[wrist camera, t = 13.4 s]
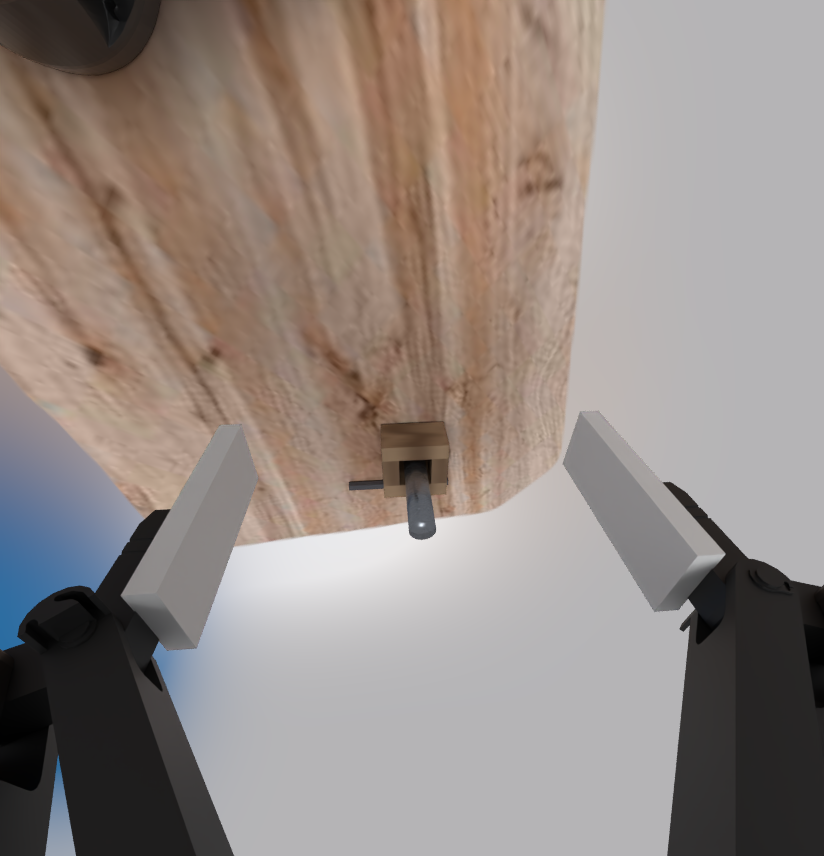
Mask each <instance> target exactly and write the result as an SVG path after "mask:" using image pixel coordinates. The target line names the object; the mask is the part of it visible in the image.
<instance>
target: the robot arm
mask: <svg viewBox="0 0 824 856" xmlns="http://www.w3.org/2000/svg"><path fill="white" fill-rule="evenodd" d="M159 5H160V0H0V45H1V46H3V47H5V48H7V49H9V50H10V51H12V52H14V53H16V54H18V55H20V56H22V57H24V58H26V59H29V60H32V61H34V62H37V63H40V64H43V65H46V66H49V67H52V68H55V69H58V70H61V71H65V72H69V73H73V74H80V75H98V74H105V73H109V72H112V71H115V70H117V69H119V68H121V67H123V66H125V65H126V64H128V63H129V62H130V61H132V60H133V59H134V58H135V57H136V56H137V55H138V54H139V53H140V52H141V50H142V49H143V47H144V46H145V45H146V43H147V41H148V39H149V38H150V35H151V33H152V31H153V28H154V25H155V22H156V19H157V15H158V11H159ZM563 465H564V466H565V468H566V470H567V471H568V473H569V475H570V476H571V478H572V479H573V481H574V483H575V484H576V486H577V488H578V489H579V491H580V492H581V494H582V495H583V497H584V498H585V500H586V502H587V504H588V505H589V507H590V509H591V510H592V512H593V513H594V515H595V517H596V518H597V520H598V521H599V523H600V525H601V526H602V528H603V530H604V531H605V533H606V534H607V536H608V538H609V539H610V541H611V543H612V544H613V546H614V547H615V549H616V550H617V552H618V554H619V555H620V557H621V559H622V560H623V562H624V564H625V565H626V567H627V568H628V570H629V572H630V573H631V575H632V576H633V578H634V580H635V581H636V583H637V585H638V586H639V588H640V589H641V591H642V593H643V594H644V596H645V597H646V599H647V601H648V602H649V604H650V606H651V607H652V609H653V610H654V611H655V612H656V611H669V610H679V609H680V607H681V606H682V605H683V604H684V603H685V602H686V600H687V599H689V600H690V602H691V603H692V605H693V606H694V607H695V610H694V611H693V612H692V613H691V614H690V615H689V616H688V618H687V619H686V620H685V621H684V622H683V623H682V625H681V627H680V630H682V631H685V629H686V628H687V627H688V626H690V631H689V642H688V651H687V662H686V671H685V681H684V692H683V702H682V712H681V723H680V732H679V742H678V752H677V763H676V773H675V783H674V793H673V804H672V813H671V823H670V834H669V844H668V854H667V856H824V585H823V586H822V587H819V586H815V585H810V584H805V583H800V582H796V581H791V580H790V579H789V578H788V577H786V575H784V574H783V573H782V572H780V571H779V570H778V569H776V568H774V567H772V566H770V565H768V564H767V563H765V562H761V561H758V560H755V559H748V558H747V557H746V556H745V555H744V554H743V553H742V552H741V551H740V550H739V548H738V547H737V546H736V545H735V544H734V543H733V542H732V541H731V540H730V539H729V538H728V537H727V536H726V535H725V533H724V532H723V531H722V530H721V529H720V528H719V527H718V526H717V525H716V524H715V523H714V522H713V521H712V520H711V518H708V515H707V514H706V513H705V512H704V511H703V510H702V509H701V508H699V507H698V505H697V503H695V501H694V500H693V499H692V498H691V497H690V496H689V495H688V494H687V493H686V492H685V491H683V490H682V489H680V488H678V487H677V486H676V485H674V484H673V483H671V482H661V481H660V480H659V478H658V477H657V476H656V475H655V474H654V473H653V472H652V470H651V469H650V468H649V467H648V466H647V465H646V464H645V463H644V461H643V460H642V459H641V458H640V457H639V456H638V455H637V454H636V452H635V451H634V450H633V449H632V448H631V447H630V446H629V445H628V443H627V442H626V441H625V440H624V439H623V438H622V437H621V436H620V435H619V433H618V432H617V431H616V430H615V429H614V428H613V427H612V425H610V423H609V422H608V421H607V420H606V419H605V418H604V416H603V415H602V414H601V413H600V412H599V411H583V412H580V413H579V416H578V419H577V422H576V425H575V429H574V431H573V434H572V437H571V440H570V443H569V446H568V449H567V452H566V455H565V458H564V461H563ZM257 480H258V475H257V472H256V469H255V466H254V463H253V460H252V457H251V453H250V450H249V447H248V444H247V441H246V438H245V435H244V432H243V429H242V426H241V424H233V425H220V426H219V427H218V429H217V431H216V432H215V434H214V436H213V438H212V439H211V441H210V443H209V444H208V446H207V448H206V450H205V451H204V453H203V455H202V457H201V458H200V460H199V462H198V463H197V465H196V467H195V469H194V470H193V472H192V474H191V475H190V477H189V479H188V481H187V482H186V484H185V486H184V488H183V489H182V491H181V493H180V494H179V496H178V498H177V500H176V501H175V503H174V505H173V506H172V508H171V509H167V510H155V511H154V512H152V513H151V514H150V515H149V516H148V517H147V518H146V519H145V520H143V521H142V522H141V523H140V524H139V526H138V527H137V529H136V530H135V532H134V533H133V535H132V536H131V538H130V542H128V543H127V544H126V546H125V547H124V549H123V550H122V554H121V555H119V557H118V558H117V560H116V561H115V563H114V564H113V566H112V567H111V569H110V571H109V572H108V574H107V575H106V577H105V579H104V580H103V581H102V583H101V585H100V586H99V588H98V589H97V591H96V593H94V592H93V591H92V590H91V589H90V588H89V587H84V586H74V587H68V588H65V589H63V590H61V591H58V592H56V593H53V594H52V595H50V596H48V597H47V598H46V599H44V600H42V601H41V602H39V603H38V604H37V605H36V606H35V607H34V608H33V609H32V610H31V611H30V612H29V613H28V614H27V615H26V617H25V618H24V620H23V621H22V623H21V624H20V626H19V631H18V636H17V637H19V638H20V639H21V640H22V641H24V642H25V643H24V644H21V645H18V646H15V647H13V648H9V649H7V650H4V651H2V650H1V649H0V856H45V852H46V844H47V836H48V828H49V820H50V812H51V805H52V797H53V789H54V781H55V773H56V765H57V757H58V755H59V761H60V767H61V772H62V778H63V784H64V789H65V795H66V800H67V807H68V812H69V818H70V824H71V829H72V835H73V841H74V846H75V852H76V856H234V855H233V852H232V850H231V847H230V845H229V842H228V840H227V837H226V835H225V832H224V830H223V827H222V825H221V822H220V820H219V817H218V815H217V812H216V810H215V807H214V805H213V802H212V800H211V797H210V795H209V792H208V790H207V787H206V785H205V782H204V780H203V777H202V775H201V772H200V770H199V767H198V765H197V762H196V760H195V757H194V755H193V752H192V750H191V747H190V745H189V742H188V740H187V737H186V735H185V732H184V730H183V727H182V725H181V722H180V720H179V717H178V715H177V712H176V710H175V707H174V705H173V702H172V700H171V697H170V695H169V692H168V690H167V687H166V685H165V682H164V680H163V677H162V675H161V672H160V670H159V667H158V665H157V662H156V660H155V659H154V658H153V657H152V654H153V653H154V650H155V648H156V646H157V644H158V641H159V642H160V643H161V644H162V645H163V646H164V648H165V649H166V650H167V651H169V650H182V649H194V648H197V645H198V643H199V640H200V637H201V634H202V632H203V629H204V626H205V624H206V621H207V618H208V615H209V613H210V610H211V607H212V604H213V602H214V599H215V596H216V593H217V590H218V588H219V585H220V582H221V580H222V577H223V574H224V571H225V568H226V566H227V563H228V560H229V557H230V554H231V552H232V549H233V547H234V544H235V541H236V538H237V536H238V533H239V530H240V527H241V525H242V522H243V519H244V516H245V514H246V511H247V508H248V505H249V502H250V500H251V497H252V494H253V491H254V489H255V486H256V483H257Z"/></svg>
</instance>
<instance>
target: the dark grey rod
mask: <svg viewBox="0 0 824 856" xmlns="http://www.w3.org/2000/svg"><path fill="white" fill-rule="evenodd" d="M447 485H448V478H447ZM365 489H384V482H383V481H364V482H349V490H365Z"/></svg>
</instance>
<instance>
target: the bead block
mask: <svg viewBox="0 0 824 856" xmlns="http://www.w3.org/2000/svg"><path fill="white" fill-rule="evenodd" d="M381 452H382V467H383V482H384V498H388V497H406V487H405V475H404V462H403V461H408V460H425V462H426V468H427V474H428V481H429V487H430V493H431V495H442V494H446V489H447V474H448V459H449V442H448V438H447V434H446V430H445V426H444V422H428V423H405V424H383V425H381Z"/></svg>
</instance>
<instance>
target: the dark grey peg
mask: <svg viewBox="0 0 824 856" xmlns="http://www.w3.org/2000/svg"><path fill="white" fill-rule="evenodd" d="M403 462H404V475H405V487H406V499H407V512H408V524H409V533H410V535H411V536H412V537H413V538H415V539H421V540H423V539H428V538H430V537H432V536H433V535H434V534H435V532H436V525H435V519H434V512H433V506H432V500H431V493H430V487H429V481H428V474H427V468H426V462H425V460H408V461H403Z"/></svg>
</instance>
